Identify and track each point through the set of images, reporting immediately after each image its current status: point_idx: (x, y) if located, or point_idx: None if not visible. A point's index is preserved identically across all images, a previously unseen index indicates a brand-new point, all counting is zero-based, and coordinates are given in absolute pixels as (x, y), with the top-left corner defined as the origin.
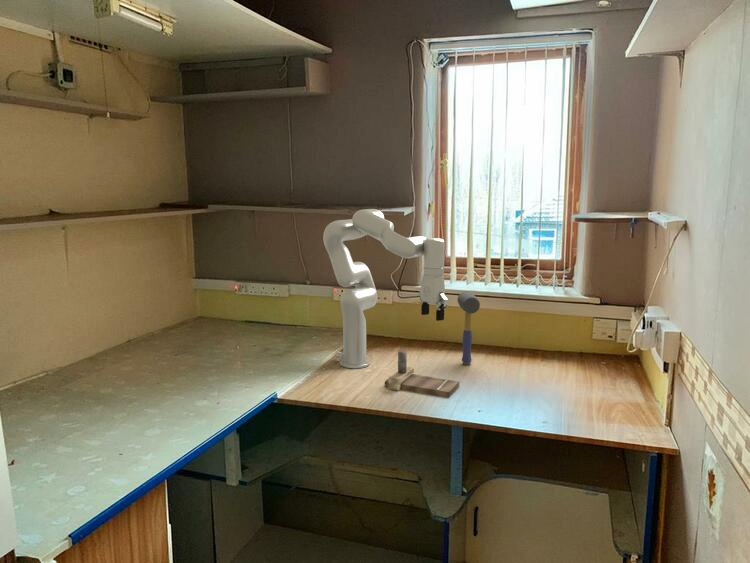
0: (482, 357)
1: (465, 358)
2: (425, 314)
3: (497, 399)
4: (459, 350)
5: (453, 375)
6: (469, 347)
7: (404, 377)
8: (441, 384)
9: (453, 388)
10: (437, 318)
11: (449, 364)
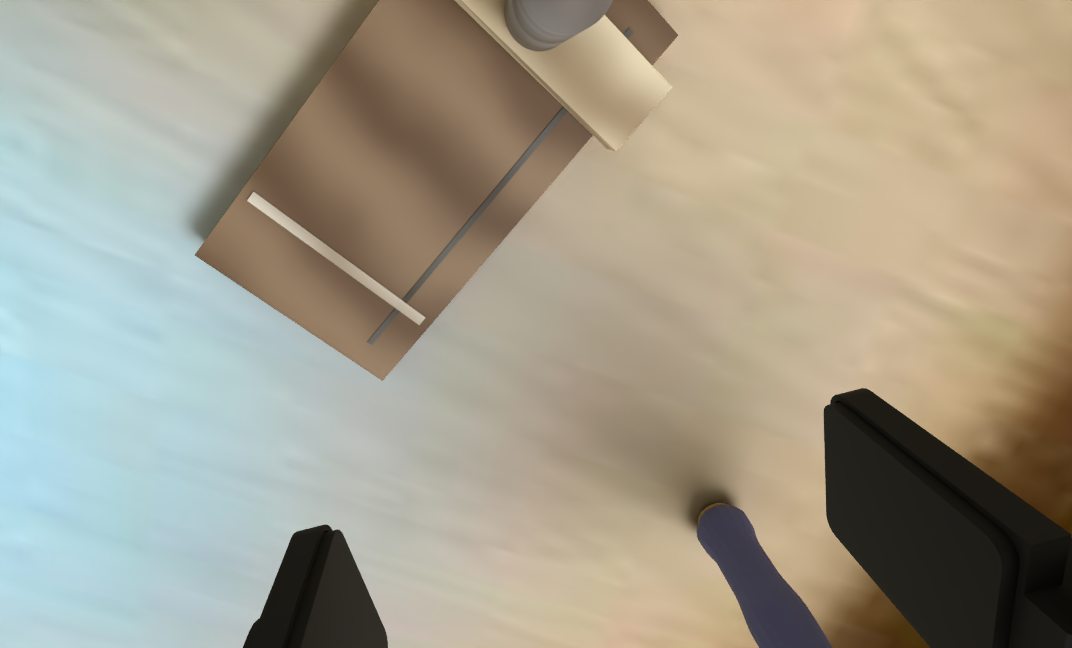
0: None
1: (714, 531)
2: (825, 459)
3: (156, 485)
4: None
5: (570, 396)
6: (738, 601)
7: (468, 10)
8: (346, 256)
9: (279, 308)
10: (286, 572)
11: (745, 434)
